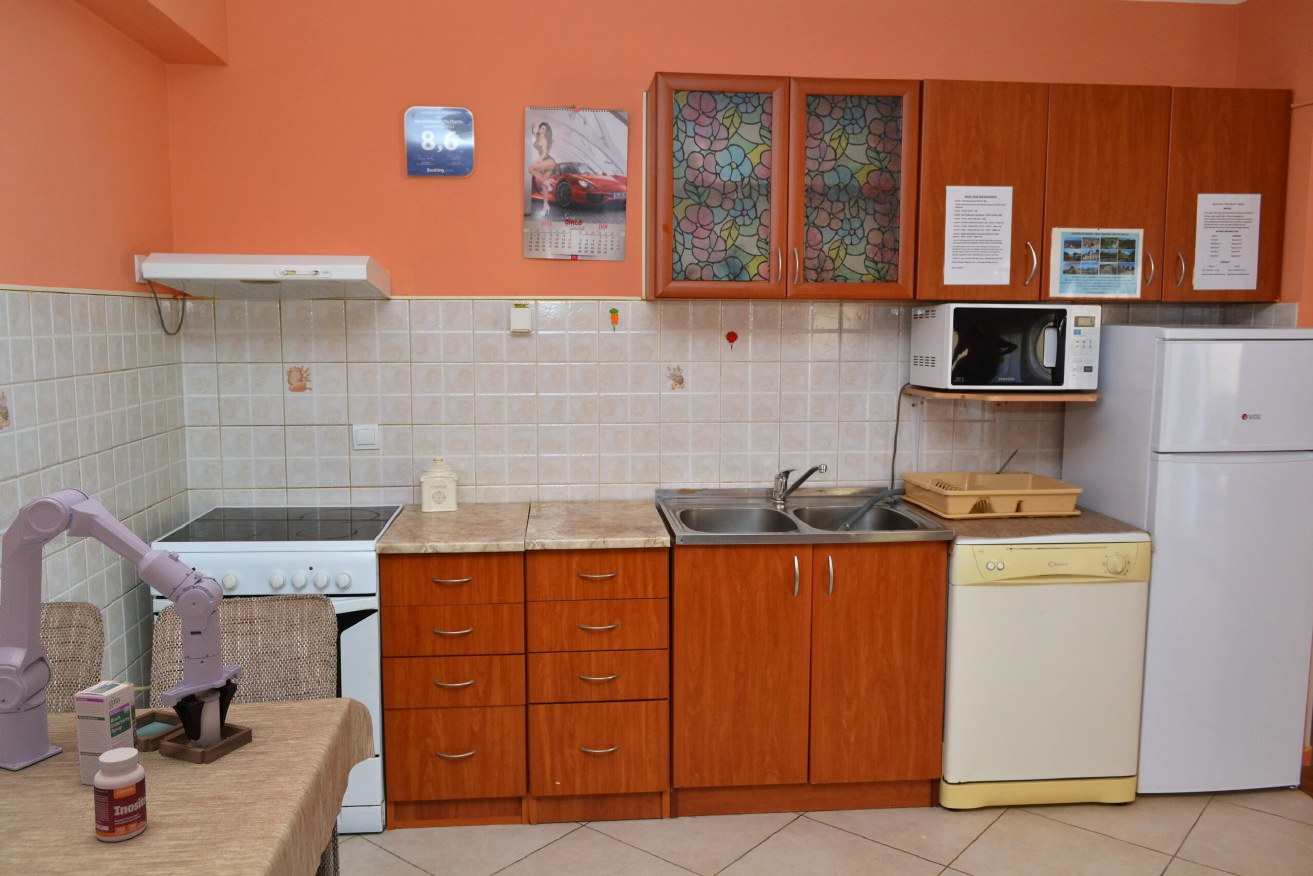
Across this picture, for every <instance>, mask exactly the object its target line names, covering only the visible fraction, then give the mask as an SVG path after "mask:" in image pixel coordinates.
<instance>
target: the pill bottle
mask: <svg viewBox="0 0 1313 876" xmlns="http://www.w3.org/2000/svg"><path fill="white" fill-rule="evenodd" d="M138 757H139V751H137V749H135V748H117V749H113V750H110V751H107V752H105V753H103V754H102V755H101V756H100V757H99V768H100V769H101V770H100V771H99V772H98V773H97V774H96V775H95V777H94V786H93V797H94V798H93V800H94V801H93V802H94V822H95V823H94V826H95V827H94V828H95V836H96V837H97V839H98V840H100V841H103V842H111V843H112V842H119V841H121V842H122V841H125V840H129V839H132V838H133V837H136V836H137V835H139V834H141V833H142V832H143V831H144V830H145V829H146V827H147V825H148V813H147V812H148V811H147V789H146V787H147V785H146V784H147V783H146V771H145V768H144V766H143V765H141V764H140V763H139V764H138V759H139V760H140V758H138Z"/></svg>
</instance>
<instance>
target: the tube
mask: <svg viewBox="0 0 1313 876" xmlns="http://www.w3.org/2000/svg"><path fill="white" fill-rule="evenodd" d="M196 697H197V700H202V701H205V703H204V706H203V710H202V714H201V734H200V739H198V740H191V741H190V743H191V747H196V748H200V749H207V748H209V747H211V746H213V745H215V744H217V743H219V742H221V741H222V739H221V737H222V736H221V735H220V711H219V697H220V691H218V690H215V689H208V690H205V691H203V692H201V693H198V694H196V695H195V698H196Z"/></svg>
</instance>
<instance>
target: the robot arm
mask: <svg viewBox="0 0 1313 876" xmlns="http://www.w3.org/2000/svg"><path fill="white" fill-rule="evenodd" d="M67 530H68V532H67V534H66V536H67V537H68V538H69V537H70V538H72V537H74V538H75V537H76V538H79V537H81V538H94V539H95V540H97V541H98V542H99V543H102V544H103V545H104V546H106V547H107V548H109V549H110V550H112V551H113V552H115V553H116V554H118V555H119V556H121V557H123V558H124V559H126V560H127V561H129V562H130V563H131V564H133V565H135V566H136V568H137V569H136V570H137V574H138V578H139V579H140V580H142V582H144V583H146V584H147V585H148V586H150V587H151V588H152V589H154V590H155V591H157V592H158V593H159V594H160V595H162V596H163V597H164V598H166V599H168V601H170V602H172V603H174V605H173V607H174V610H175V612H176V614H177V615H178V616H179V617H180V619H181V639H182V642H181V643H182V644H181V645H182V665H183V667H182V668H183V679H182V681H180V682H179V683H178V684H176V685H174V686H173V687H172V688H170V689H167V691H164V692H162V693H161V698H162V699H161V701H162V703H161V704H162V706H168V707H171V708H172V709H173V710H174V711H175V712H174V713H177V715H178V716H179V718H180V720H181V722H182V725H183V727H184V730H185V733H186V736H187V739H191V740H198V739H200V734H201V714H202V710H203V706H204V703H205V701H202V700H197V697H196V698H195V695H196V694H198V693H201V692H203V691H205V690H208V689H215V690H218V691H220V697H219V711H220V729H221V728H223V727H224V724H225V723H226V718H227V714H228V710H229V709H230V708H229V707H230V705H231V702H232V700H233V697H234V695H235V694H236V692H237V690H238V684H237V683H235V682H232V681H231V680H234V679H239V678H242V677H243V673H242V672H243V671H242V665H237V664H231V665H229V666H226V667H224V666H223V660H222V659H223V657H222V633H221V632H222V631H221V621H220V608H218V607H219V606H220V605H221V603H222V601H223V598H224V591H223V587H222V586H221V584H220V583H219V582H218V581H217V579H216V578H215V577H212V576H208V575H207V576H206V575H205V576H204V574H203V573H202V572H201V571H199V570H198V571H197V572H196V571H195V570H193V569H192V568H191V567H190V566H188V564H186V563H184V562H183V561H182V560H180V559H179V558H180V554H179V553H177V552H176V551H171V552H170V551H168V550H167V549H153V548H152V547H150V546H149V545H148V544H147V543H145V542H144V541H143V540H142V539H141V538H139V537H138V536H137V535H136V534H135V533H134V532H132V531H131V530H130V529H129V528H128V527H127V526H125V525H124V523H122V522H121V521H119V519H117V518H116V517H115V516H113V514H111V513H110V512H109V511H108V510H107V509H106V508H105V507H104V506H103V505H102V504H101V502H100V501H99V500H98V499H95V498H93V497H90V496H89V495H88V494H87V493H86V492H85V491H84V490H82V489H79V488H75V487H67V488H62V489H60V490H58V491H56V492H54V493H51V494H48V495H44V496H38V497H36V498H34V499H32V500H31V501H29V502H28V503H26V504H24V505H23V506H21V507H19V509H18V514H17V516H16V517H15V519H14V520H13V522H12V523H11V525H10V526H9V527H8V529H7V530H6V531H5V532H4V534H3V536H2V539H1V540H2V541H1V572H0V573H1V574H0V575H1V576H0V577H1V578H0V579H1V580H0V581H1V582H0V584H1V585H0V768H3V769H7V770H12V771H18V770H20V769H23V768H25V767H27V766H28V767H29V766H31V765H33V764H36V763H37V762H39V761H43V760H44V759H47V758H49V757H52V756H53V755H56V754H59V753H60V752H63V747H61V746H60V747H59V746H55V745H51V744H50V737H49V736H50V735H49V722H48V705H47V704H48V703H47V695H46V687H47V686H49V684H50V683H51V680H52V678H53V669H52V666H51V664H50V662H49V660H48V656H47V648H46V647H45V645H43V643H42V642H41V614H42V610H41V609H42V580H43V579H42V575H43V574H42V573H43V566H42V565H43V547H44V546H45V545H47V544H48V543H50V542H51V541H52V540H54V539H55V538H57V536H59V535H60V534H61V533H62V532H63V533H64V532H65V531H67Z"/></svg>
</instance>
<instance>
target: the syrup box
mask: <svg viewBox="0 0 1313 876" xmlns="http://www.w3.org/2000/svg"><path fill="white" fill-rule="evenodd" d="M134 686H135V685H134V683H133V682H130V681H129V682H128V681H122V680H102V681H100V682H99V683H96V684H94V685H92V686H89V687H87V688H86V689H83V690H82V691H77V692H76V693H75V694H73V696H74V697H73V698H74V708H75V709H74V710H75V722H76V735H77V748H78V749H77V750H78V759H79V760H78V761H79V775H80V782H81V785H87V786H93V787H94V777H95V775H96V774H97V773H98V772H99V771H100V770H101V769H100V768H99V757H100V756H101V755H102V754H103V753H105V752H107V751H110V750H113V749H117V748H135V749H137V751H138V743H137V727H136V717H137V716H136V702H135V687H134ZM138 752H139V751H138ZM138 758H139V756H138ZM138 764H140V758H139V759H138Z"/></svg>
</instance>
